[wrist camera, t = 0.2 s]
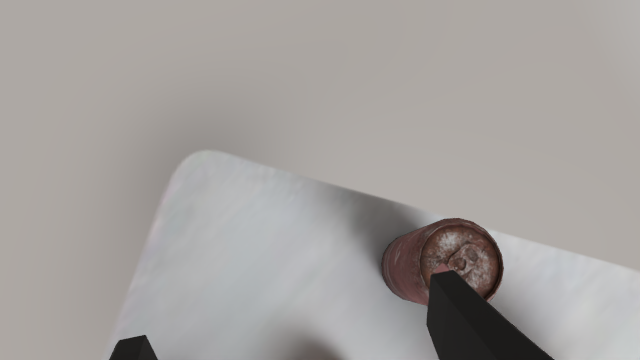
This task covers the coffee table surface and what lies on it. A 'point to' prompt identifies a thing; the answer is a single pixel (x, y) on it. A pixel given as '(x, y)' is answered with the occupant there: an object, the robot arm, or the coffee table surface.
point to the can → (443, 259)
